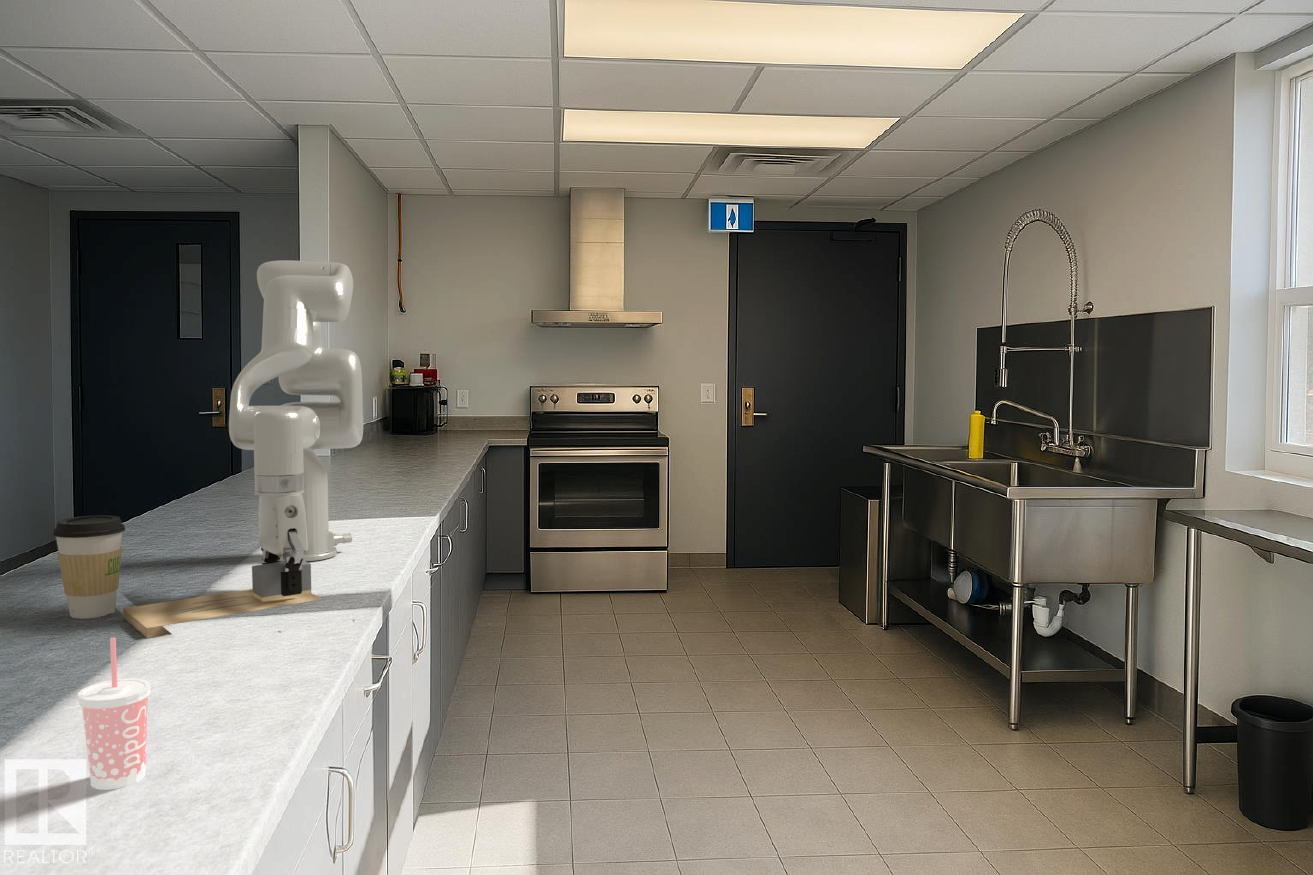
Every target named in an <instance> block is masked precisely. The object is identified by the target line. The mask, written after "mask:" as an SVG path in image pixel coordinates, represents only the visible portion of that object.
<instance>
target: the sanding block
mask: <svg viewBox="0 0 1313 875" xmlns="http://www.w3.org/2000/svg"><path fill="white" fill-rule="evenodd" d="M287 563H288V561H287ZM281 572H283V568H282V564H281V562H277V563H270V564H262V563H261V564H255V565H252V566H251V579H252V580H251V585H252V588H251V589H253V596H254V597H256V598H258V599H259V600H261V601H267V600H273V599H279V598H285V597H292V596H298V595H304V594H310V593H312V564H311V563H309V561H306V562H305V561H302V593H301V594H296V595H290V596H282V595H281Z"/></svg>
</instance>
